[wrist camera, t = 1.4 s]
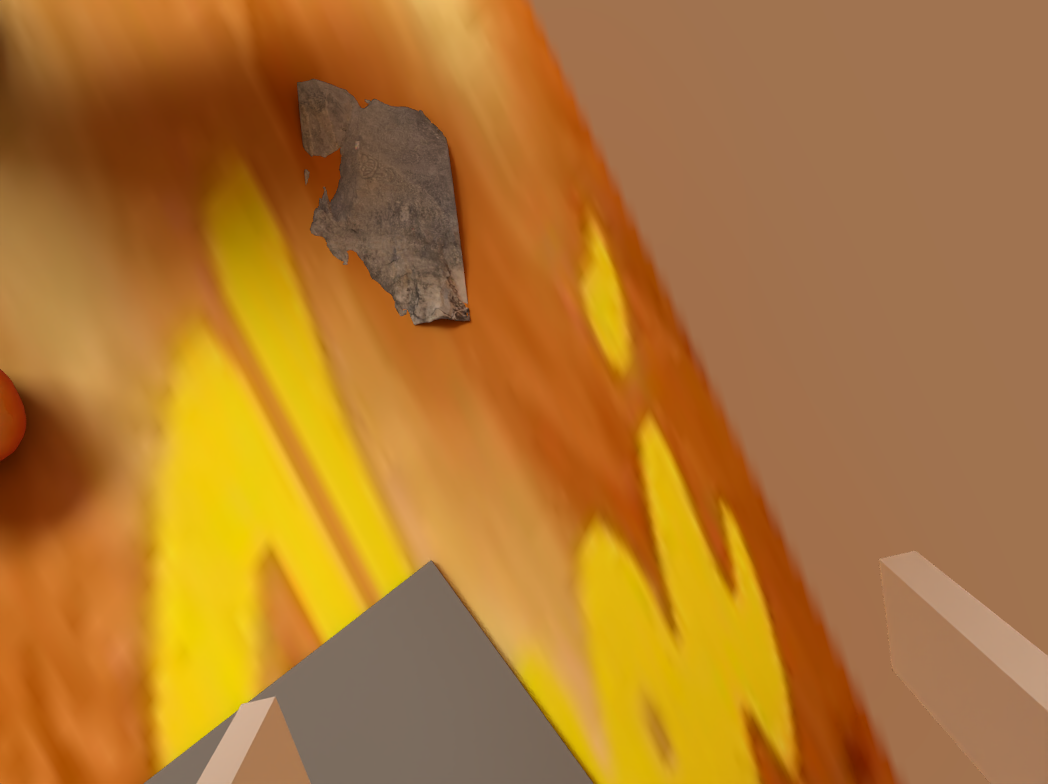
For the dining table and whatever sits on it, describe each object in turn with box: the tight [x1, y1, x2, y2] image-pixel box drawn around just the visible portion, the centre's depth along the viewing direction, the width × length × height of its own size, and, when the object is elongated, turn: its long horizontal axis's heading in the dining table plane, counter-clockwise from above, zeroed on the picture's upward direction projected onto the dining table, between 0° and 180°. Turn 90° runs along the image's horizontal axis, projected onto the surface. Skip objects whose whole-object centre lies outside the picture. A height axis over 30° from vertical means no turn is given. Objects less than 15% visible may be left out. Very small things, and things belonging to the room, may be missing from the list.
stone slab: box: [297, 79, 470, 325], centre depth 43 cm, size 18×2×10 cm
